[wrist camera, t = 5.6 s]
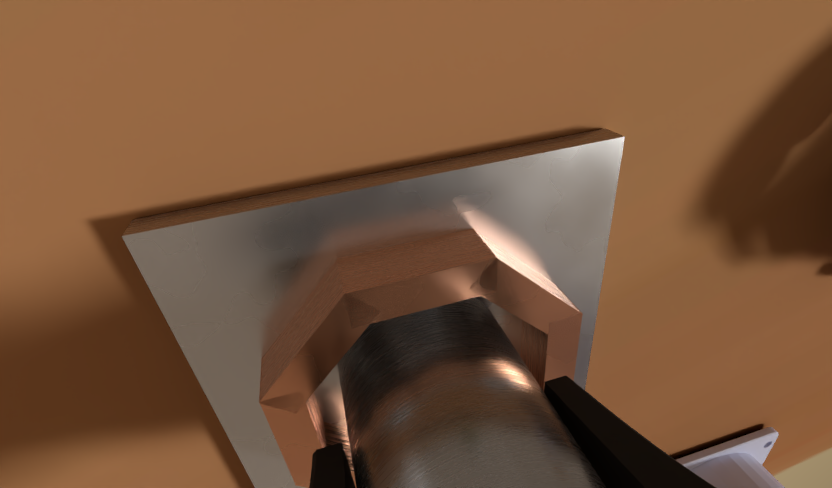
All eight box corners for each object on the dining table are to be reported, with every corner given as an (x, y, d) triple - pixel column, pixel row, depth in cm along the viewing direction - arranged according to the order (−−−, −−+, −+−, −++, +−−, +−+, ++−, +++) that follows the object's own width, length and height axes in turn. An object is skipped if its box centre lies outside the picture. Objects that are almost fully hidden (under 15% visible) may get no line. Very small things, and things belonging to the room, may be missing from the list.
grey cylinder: (502, 273, 12) (705, 531, 6) (495, 391, 15) (634, 652, 9) (324, 311, 11) (374, 657, 5) (350, 430, 14) (403, 751, 8)
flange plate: (567, 412, 18) (601, 462, 16) (275, 503, 16) (274, 573, 14) (605, 128, 12) (668, 154, 10) (132, 219, 10) (95, 275, 8)
